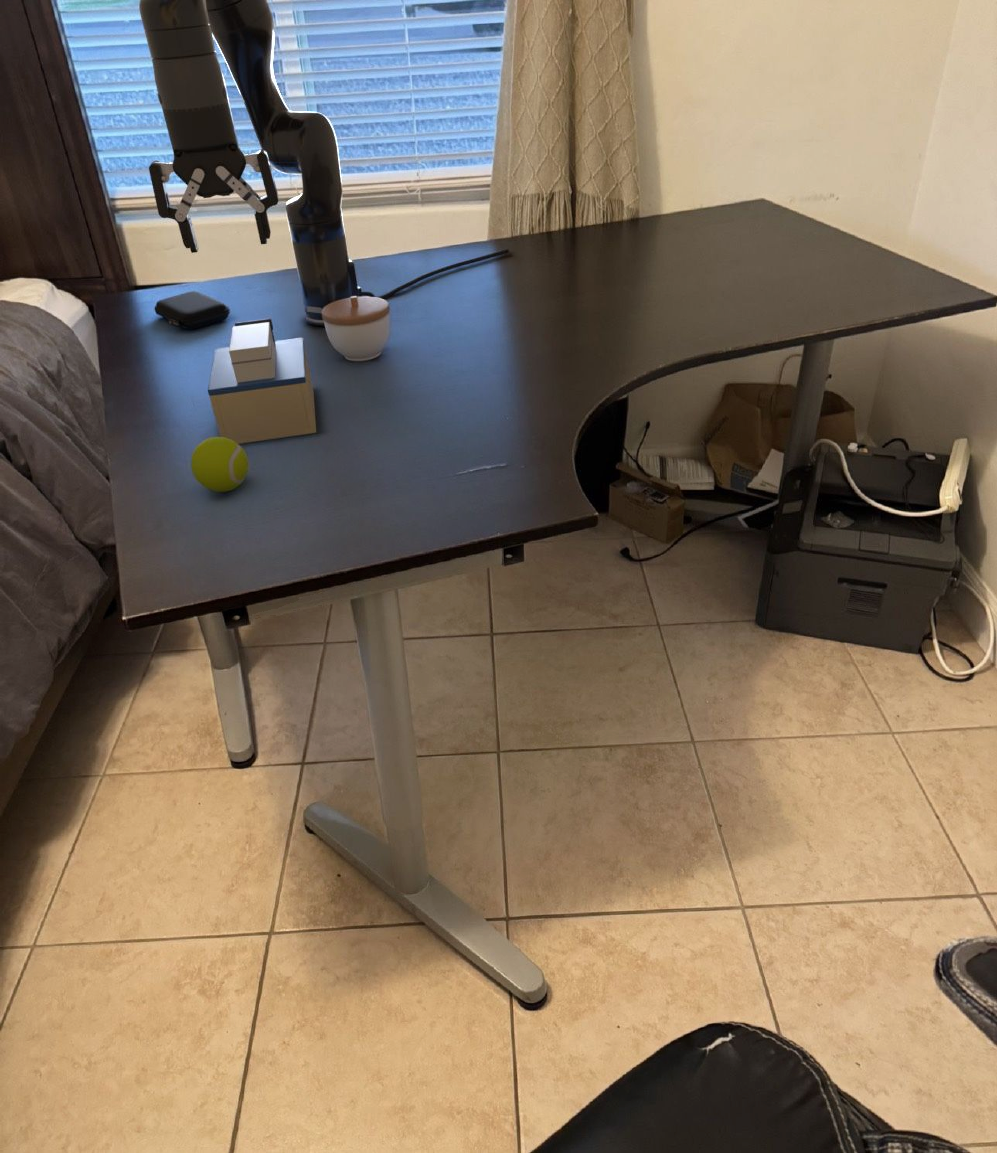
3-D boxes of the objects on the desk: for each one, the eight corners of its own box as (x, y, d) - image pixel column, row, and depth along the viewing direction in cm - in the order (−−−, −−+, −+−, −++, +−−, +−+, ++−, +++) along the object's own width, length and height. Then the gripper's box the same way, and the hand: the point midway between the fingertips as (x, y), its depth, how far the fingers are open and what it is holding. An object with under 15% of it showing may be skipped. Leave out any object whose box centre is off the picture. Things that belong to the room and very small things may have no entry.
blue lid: (216, 353, 125) (208, 322, 123) (304, 342, 127) (297, 310, 124) (208, 395, 113) (199, 361, 110) (306, 382, 115) (299, 348, 112)
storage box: (228, 402, 129) (216, 355, 125) (313, 391, 131) (304, 344, 126) (222, 446, 117) (209, 396, 113) (316, 432, 119) (306, 383, 115)
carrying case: (147, 318, 163) (182, 335, 154) (142, 302, 162) (177, 319, 152) (199, 302, 169) (236, 319, 160) (195, 287, 167) (232, 302, 158)
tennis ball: (217, 472, 111) (204, 425, 107) (263, 477, 109) (251, 429, 105) (188, 499, 106) (172, 450, 102) (236, 504, 104) (222, 455, 100)
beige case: (239, 357, 121) (232, 326, 119) (276, 352, 122) (269, 321, 120) (236, 383, 114) (228, 351, 111) (275, 378, 114) (268, 345, 112)
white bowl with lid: (342, 372, 136) (331, 313, 130) (321, 351, 144) (310, 295, 138) (405, 356, 139) (397, 298, 134) (381, 337, 147) (373, 281, 142)
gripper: (258, 91, 103) (286, 233, 113) (135, 103, 101) (174, 246, 111) (257, 99, 97) (286, 248, 107) (126, 111, 95) (168, 262, 105)
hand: (229, 247), depth 109 cm, fingers open, 8 cm apart
